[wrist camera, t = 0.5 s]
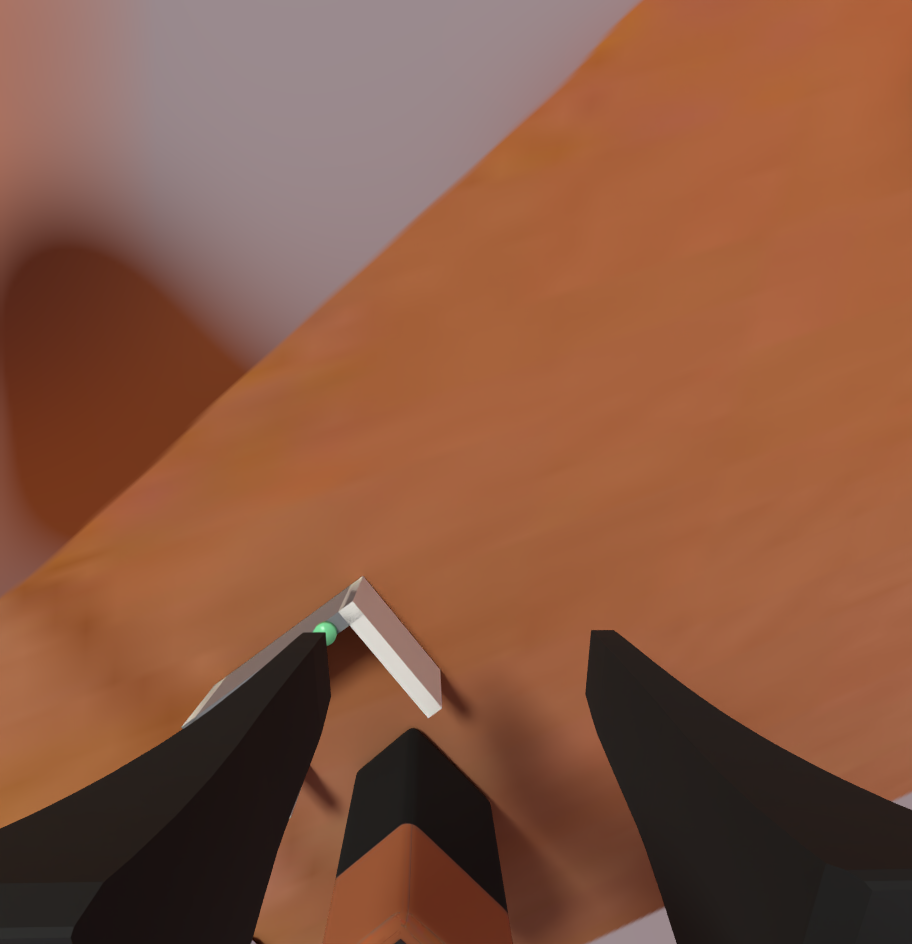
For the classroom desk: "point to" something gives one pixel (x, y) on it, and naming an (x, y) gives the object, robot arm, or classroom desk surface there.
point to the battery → (417, 856)
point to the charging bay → (375, 630)
